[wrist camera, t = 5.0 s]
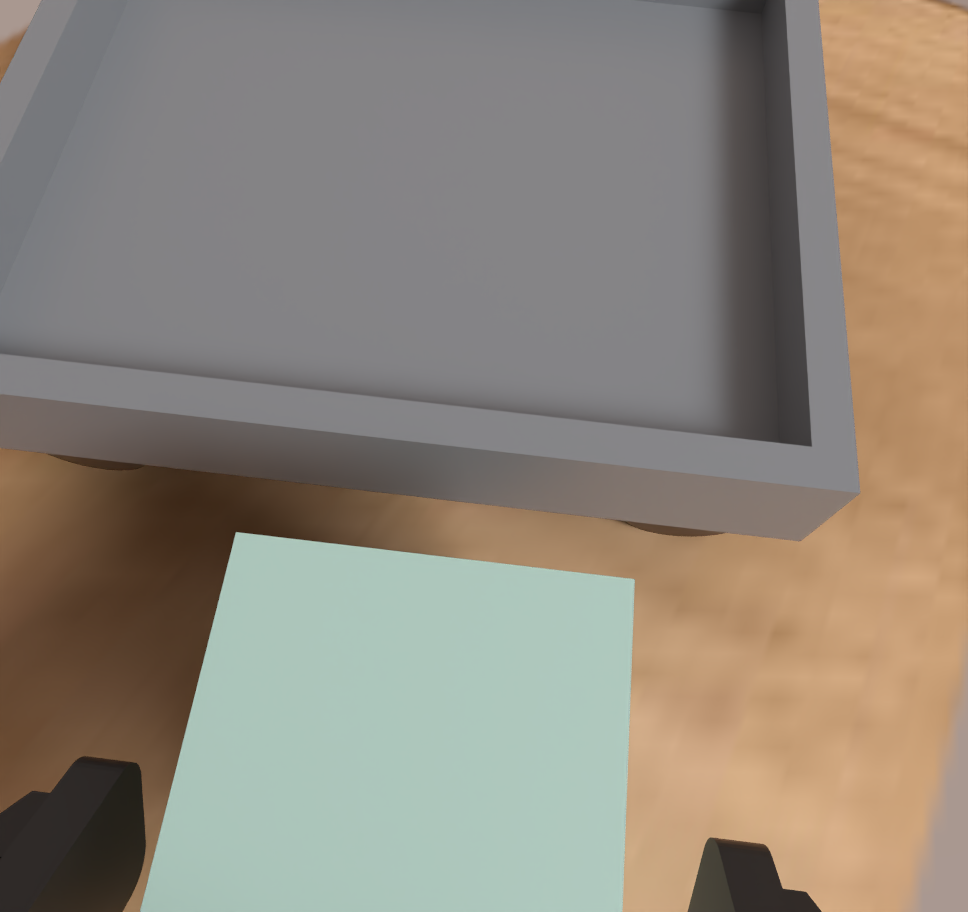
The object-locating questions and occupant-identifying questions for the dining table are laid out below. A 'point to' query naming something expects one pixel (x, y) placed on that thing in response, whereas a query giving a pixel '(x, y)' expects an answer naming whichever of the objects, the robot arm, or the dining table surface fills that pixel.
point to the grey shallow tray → (434, 252)
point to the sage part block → (402, 738)
